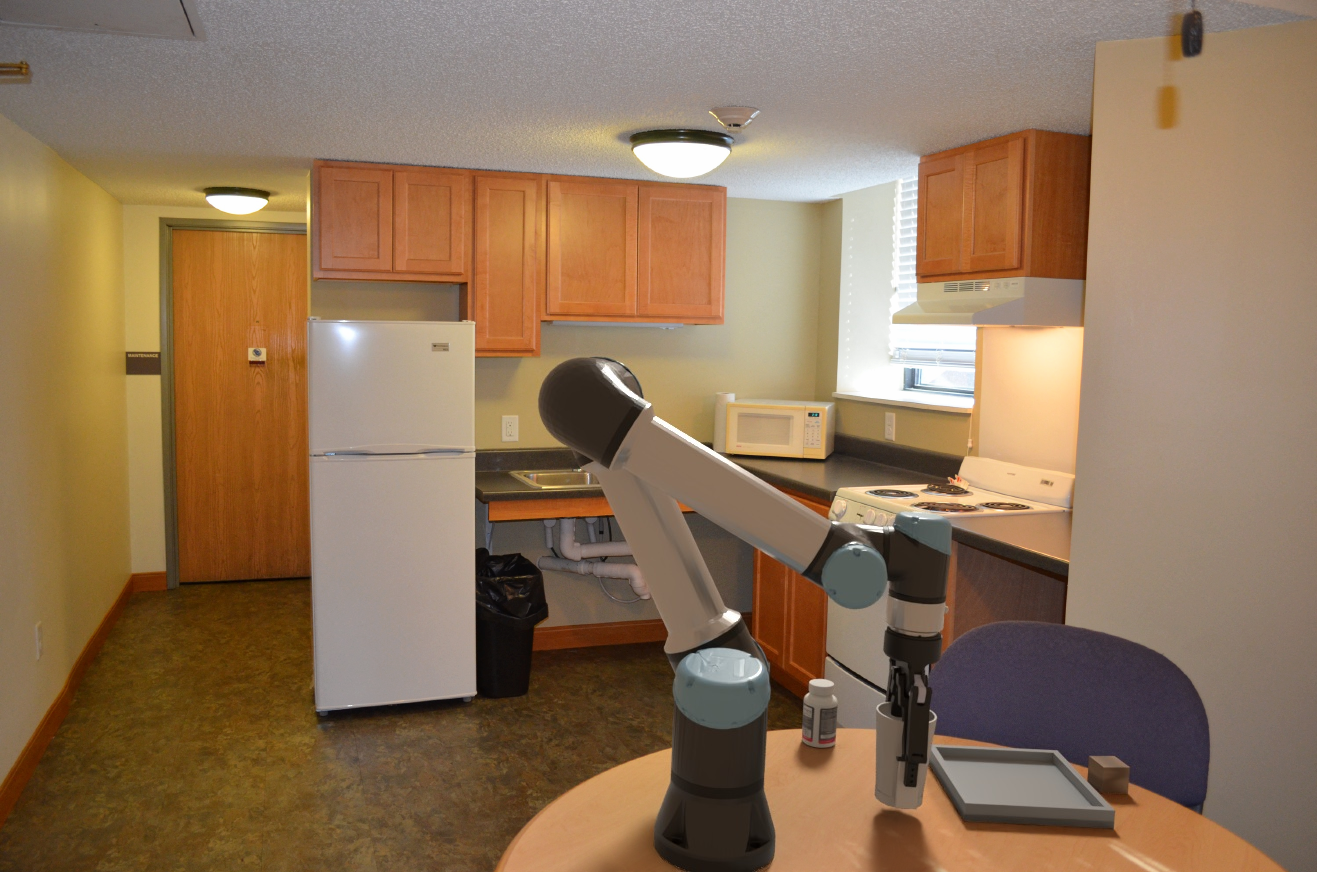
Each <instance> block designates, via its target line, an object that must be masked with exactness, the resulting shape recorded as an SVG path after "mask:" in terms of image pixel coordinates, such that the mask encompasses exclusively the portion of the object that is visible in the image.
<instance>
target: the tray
mask: <svg viewBox="0 0 1317 872" xmlns="http://www.w3.org/2000/svg"><path fill="white" fill-rule="evenodd" d="M928 766H929V767H930V768H931V770H932V772H933V773H934V774H935V777H936V778H937V780H938V781H939V783H940V784H941V786H942V788H943V789H944V792H946V794H947V796H948V797H949V799H950V801H951V802H952V804H953V805H954V807H955V809H956V810H957V812H958V814H959V816H960V817H961V818H962V820H963V822H976V823H994V824H996V823H997V824H1017V825H1037V826H1051V827H1052V826H1056V827H1074V828H1075V827H1078V828H1079V827H1080V828H1092V829H1093V828H1094V829H1115V819H1116V810H1115V808H1114V807H1113V806H1111V804H1110V803H1109V802H1108V801H1107V800H1106V799H1105V798H1104V797H1103V796H1102V795H1101V793H1100V792H1099V791H1098V790H1097V789H1096V788H1094V787H1093V786H1092V785H1091V784H1090V783H1088V782H1087V780H1086V778H1085V777H1084V776H1082V774H1081V773H1080V772H1079V771H1078V770H1077V769H1076V768H1075V767H1074V766H1073V765H1072V764H1071V763H1070V762H1069V761H1068V760H1067V759H1066V757H1064V756H1063V755H1062V753H1061V752H1060V751H1059V750H1057V749H1055V750H1053V749H1035V748H1034V749H1033V748H1017V747H1016V748H1015V747H1013V748H1012V747H996V746H994V747H993V746H975V745H973V746H972V745H956V744H955V745H954V744H953V745H952V744H934V743H932V747H931V753H930V758H929V764H928Z"/></svg>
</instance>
